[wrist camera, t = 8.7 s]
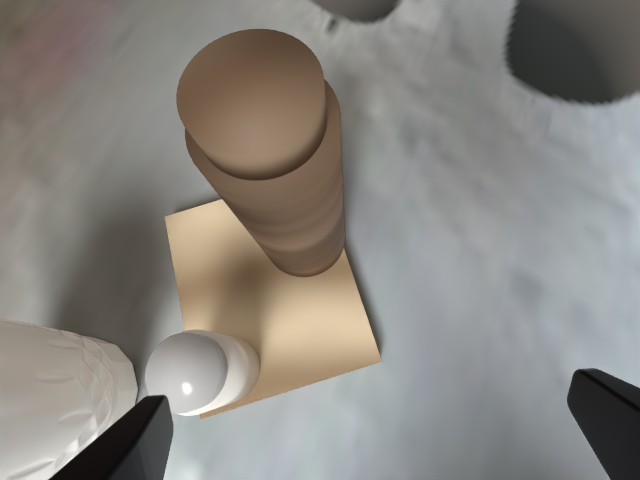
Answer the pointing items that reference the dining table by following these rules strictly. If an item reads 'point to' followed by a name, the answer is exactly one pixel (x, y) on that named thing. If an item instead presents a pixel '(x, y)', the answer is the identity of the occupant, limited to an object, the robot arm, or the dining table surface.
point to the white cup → (56, 396)
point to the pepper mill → (269, 144)
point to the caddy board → (267, 304)
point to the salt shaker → (202, 371)
